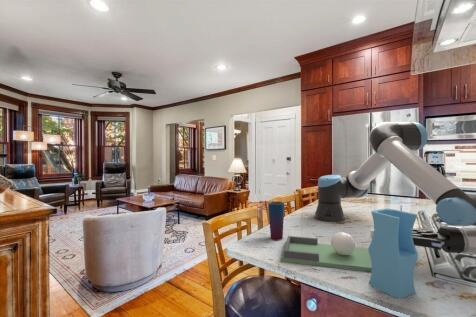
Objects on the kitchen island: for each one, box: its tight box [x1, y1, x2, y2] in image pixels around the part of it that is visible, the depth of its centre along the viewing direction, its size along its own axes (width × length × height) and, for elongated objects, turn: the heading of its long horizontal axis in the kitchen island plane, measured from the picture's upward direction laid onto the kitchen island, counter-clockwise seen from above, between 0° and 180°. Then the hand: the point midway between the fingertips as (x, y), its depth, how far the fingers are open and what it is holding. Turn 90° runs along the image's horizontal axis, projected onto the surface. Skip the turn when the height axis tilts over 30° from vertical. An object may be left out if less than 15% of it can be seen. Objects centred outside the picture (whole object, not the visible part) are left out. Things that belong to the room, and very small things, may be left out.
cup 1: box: [267, 201, 285, 241], centre depth 100 cm, size 7×7×15 cm
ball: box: [330, 231, 356, 255], centre depth 81 cm, size 8×8×8 cm
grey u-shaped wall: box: [284, 235, 319, 261], centre depth 85 cm, size 11×15×2 cm
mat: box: [280, 240, 372, 273], centre depth 82 cm, size 34×16×1 cm, turn 73°
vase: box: [368, 208, 419, 300], centre depth 62 cm, size 8×8×20 cm
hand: (370, 234), depth 78 cm, fingers closed
